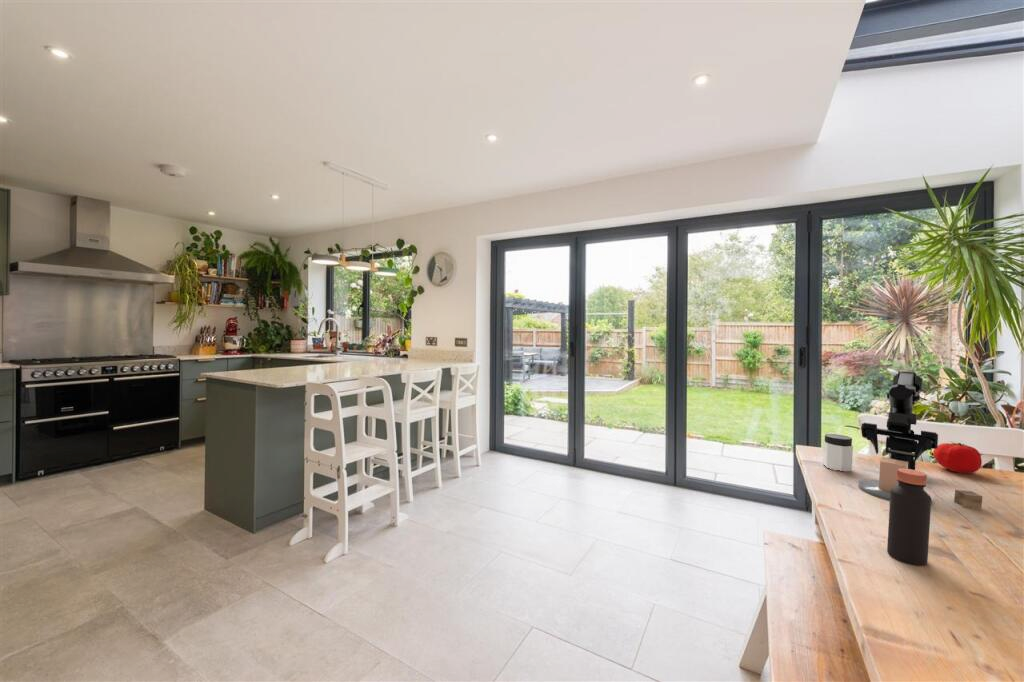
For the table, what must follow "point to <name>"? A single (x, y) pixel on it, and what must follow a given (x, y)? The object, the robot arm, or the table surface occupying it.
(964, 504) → the block
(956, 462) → the tomato
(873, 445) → the robot arm
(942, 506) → the table surface
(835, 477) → the table surface
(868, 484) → the plate
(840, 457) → the jar
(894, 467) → the tan rectangular block
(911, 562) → the bottle
